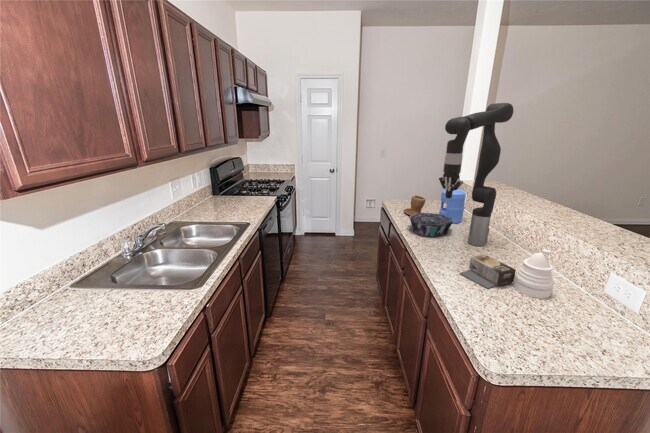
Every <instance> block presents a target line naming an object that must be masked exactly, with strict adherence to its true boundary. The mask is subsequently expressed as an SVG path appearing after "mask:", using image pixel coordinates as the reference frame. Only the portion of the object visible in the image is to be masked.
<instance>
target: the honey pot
mask: <svg viewBox="0 0 650 433" xmlns="http://www.w3.org/2000/svg"><path fill="white" fill-rule="evenodd" d="M542 252H543V253H542ZM542 252H536V253H534V254H532V255H530V256H529V257H528V258H525V259H523V261H522V265H521V266H520V267H519V269H518V270H517V271H516V272H515V277H514V282H512V286H513V288H514V289H515V290H516V291H517V292H519V293H520V294H523V295H524V294H525V296H528V297H531V298H535V299H548V298H550V297H551V295H552V291H553V287H554V284H555V283H554V280H553V279H554V278H553V274H552V271H553V270H554V265H552V264H551V263H550V262H549V260H548V258H547V256H549V255H551V253H552V251H551V250H549V249H542Z"/></svg>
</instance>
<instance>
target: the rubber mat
mask: <svg viewBox="0 0 650 433" xmlns="http://www.w3.org/2000/svg"><path fill="white" fill-rule="evenodd" d="M459 275H460V276H462V277H464V278H466V279H468V280H469V281H471V282H473V283H475V284H477V285H479V286H480V287H483V288H484V289H486V290H490V289H493V288H495V287H498V285H496V284H494V283H493V282H491V281H489V280H488V279H486V278H484V277H483V276H481V275H479V274H477V273H476V272H474V271H472V270H471V269H467V270H465V271H461V272H459Z"/></svg>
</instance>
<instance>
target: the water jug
mask: <svg viewBox="0 0 650 433" xmlns="http://www.w3.org/2000/svg"><path fill="white" fill-rule="evenodd" d="M445 194H446V190H445V189H442V191H441V195H440V201H441V203H440V208H439V213H438V214H440V215H444V216H446V217H449V218H451V219H452V222H453V223H452V224H451V225H453V224H454V225H455V224H460V223H462V222H463V216H464V211H465V204H466V203H465V201H466V198H467V193H466V191H464V190H462V189H460V187H459V188H458V189H457V190H454V191H453V193H452V197H451V198H449V199H448V198H446V196H445ZM445 204H446V206H445V207H444V205H445Z"/></svg>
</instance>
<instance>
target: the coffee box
mask: <svg viewBox="0 0 650 433" xmlns="http://www.w3.org/2000/svg"><path fill="white" fill-rule="evenodd" d="M468 270H472V271H474V272H476V273H477V274H479V275H481V276H483V277H484V278H486V279H488V280H489V281H491V282H493V283H494V284H496V285H498V286H502V285H508V284H511V283H512V284H513V283H514V278H515V274H516V272H517V271H516V270H517V269H515V268H513V267H511V266H510V265H507V264H505V263H503V262H501V261H499V260H498V259H496V258H493V257H492V256H489V255H487V254H480V255H474V256H470V258H469V263H468ZM498 286H497V287H498Z"/></svg>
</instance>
